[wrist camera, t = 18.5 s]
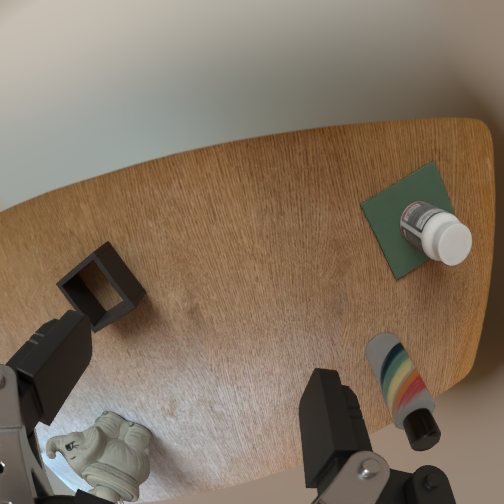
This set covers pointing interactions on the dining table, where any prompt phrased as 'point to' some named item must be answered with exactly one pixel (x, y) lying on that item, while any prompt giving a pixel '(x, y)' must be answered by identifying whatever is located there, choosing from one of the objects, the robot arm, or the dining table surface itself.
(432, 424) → the lotion bottle
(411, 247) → the mat
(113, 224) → the dining table surface
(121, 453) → the elephant cookie jar
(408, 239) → the pill bottle
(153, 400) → the dining table surface
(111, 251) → the holder
